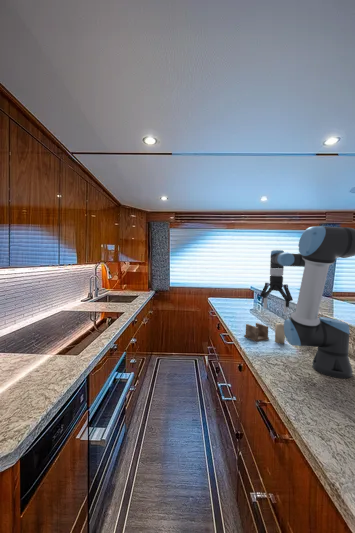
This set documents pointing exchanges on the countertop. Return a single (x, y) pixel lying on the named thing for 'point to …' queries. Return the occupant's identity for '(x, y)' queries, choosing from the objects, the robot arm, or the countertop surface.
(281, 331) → the beige rectangular block
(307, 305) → the robot arm
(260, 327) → the holder
